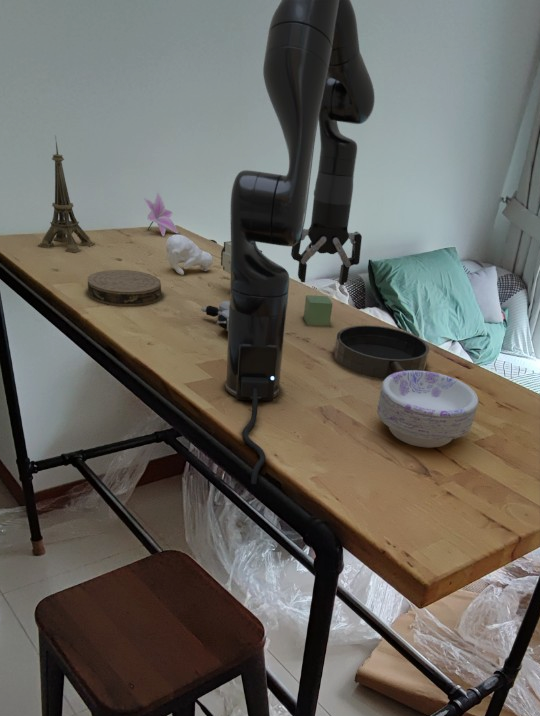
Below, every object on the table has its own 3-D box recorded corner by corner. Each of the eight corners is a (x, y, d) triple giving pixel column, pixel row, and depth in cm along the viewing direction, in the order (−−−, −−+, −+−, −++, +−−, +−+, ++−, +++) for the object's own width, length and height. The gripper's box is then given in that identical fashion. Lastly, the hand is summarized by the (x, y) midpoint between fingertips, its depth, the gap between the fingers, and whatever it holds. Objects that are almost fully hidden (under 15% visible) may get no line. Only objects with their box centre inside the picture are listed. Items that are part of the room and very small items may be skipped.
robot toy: (197, 321, 138) (225, 342, 127) (197, 300, 136) (226, 319, 125) (249, 317, 143) (280, 337, 133) (250, 296, 141) (282, 314, 130)
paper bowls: (404, 463, 97) (415, 415, 92) (357, 417, 108) (365, 372, 103) (485, 451, 103) (499, 406, 98) (433, 409, 113) (444, 366, 109)
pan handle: (412, 390, 114) (414, 380, 113) (401, 390, 113) (403, 379, 112) (398, 370, 121) (400, 359, 120) (387, 369, 120) (390, 359, 119)
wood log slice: (110, 310, 136) (109, 295, 134) (75, 287, 145) (74, 274, 143) (174, 300, 145) (174, 286, 143) (138, 280, 154) (137, 267, 152)
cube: (329, 326, 142) (332, 303, 139) (307, 325, 141) (309, 302, 138) (325, 318, 146) (328, 296, 143) (303, 317, 145) (305, 294, 142)
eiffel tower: (94, 244, 175) (86, 136, 160) (75, 252, 167) (64, 140, 151) (58, 238, 176) (47, 130, 161) (38, 246, 168) (23, 134, 153)
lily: (141, 240, 187) (155, 211, 181) (126, 214, 191) (140, 185, 185) (175, 251, 195) (189, 223, 190) (160, 225, 199) (174, 198, 194)
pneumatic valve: (235, 286, 158) (238, 234, 151) (262, 301, 151) (266, 247, 143) (216, 288, 155) (217, 235, 148) (242, 304, 148) (245, 248, 141)
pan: (436, 382, 123) (441, 362, 121) (344, 378, 120) (348, 358, 118) (409, 346, 137) (413, 327, 135) (326, 342, 134) (328, 323, 132)
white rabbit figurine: (164, 231, 158) (209, 235, 164) (161, 267, 163) (206, 270, 169) (172, 237, 154) (219, 242, 160) (169, 274, 159) (215, 277, 165)
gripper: (300, 199, 124) (291, 285, 134) (371, 205, 127) (358, 290, 136) (294, 192, 130) (286, 275, 140) (362, 198, 133) (350, 280, 142)
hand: (322, 282), depth 138 cm, fingers open, 8 cm apart
